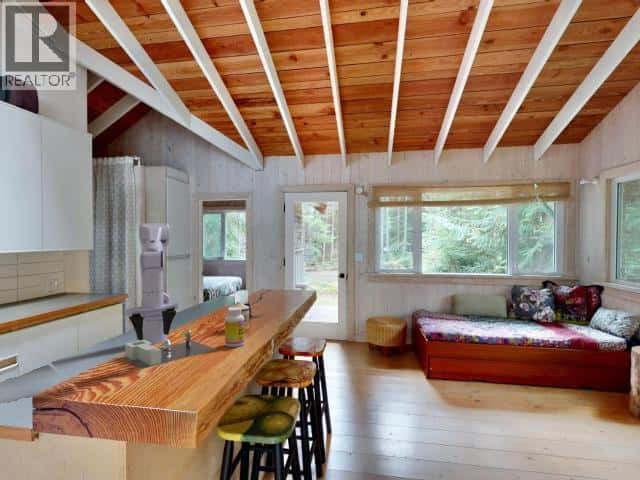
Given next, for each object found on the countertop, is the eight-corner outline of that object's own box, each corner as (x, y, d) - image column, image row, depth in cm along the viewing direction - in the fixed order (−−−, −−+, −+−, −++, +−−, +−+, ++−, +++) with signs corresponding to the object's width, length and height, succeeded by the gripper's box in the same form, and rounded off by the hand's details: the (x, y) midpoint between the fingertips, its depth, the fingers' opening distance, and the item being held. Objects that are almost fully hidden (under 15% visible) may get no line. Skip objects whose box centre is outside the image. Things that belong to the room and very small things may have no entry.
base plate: (121, 358, 112) (121, 356, 112) (192, 342, 130) (192, 340, 130) (142, 370, 101) (142, 368, 101) (217, 350, 119) (217, 349, 119)
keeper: (180, 352, 117) (180, 334, 117) (186, 347, 123) (186, 329, 123) (185, 352, 117) (185, 333, 117) (191, 347, 123) (191, 329, 124)
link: (125, 356, 113) (125, 343, 113) (144, 351, 117) (144, 339, 117) (145, 367, 102) (145, 353, 102) (166, 361, 106) (166, 348, 106)
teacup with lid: (246, 331, 145) (246, 303, 145) (224, 331, 145) (224, 303, 145) (253, 324, 156) (253, 298, 157) (233, 325, 157) (233, 298, 157)
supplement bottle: (239, 347, 122) (239, 310, 122) (222, 347, 123) (221, 310, 123) (247, 342, 128) (246, 307, 128) (230, 341, 129) (230, 306, 130)
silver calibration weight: (161, 351, 119) (161, 340, 119) (168, 349, 121) (168, 339, 121) (164, 352, 118) (164, 341, 118) (172, 350, 120) (171, 340, 120)
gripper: (132, 295, 98) (132, 344, 98) (182, 289, 108) (183, 334, 108) (122, 293, 102) (123, 340, 102) (171, 288, 113) (172, 330, 113)
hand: (153, 336), depth 106 cm, fingers open, 7 cm apart
